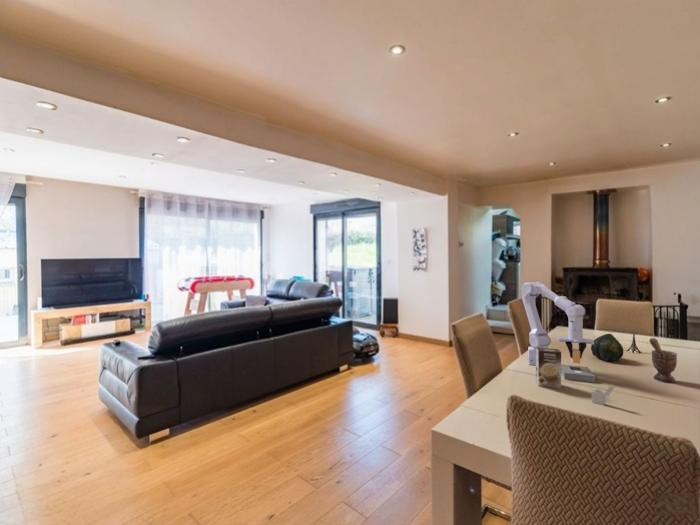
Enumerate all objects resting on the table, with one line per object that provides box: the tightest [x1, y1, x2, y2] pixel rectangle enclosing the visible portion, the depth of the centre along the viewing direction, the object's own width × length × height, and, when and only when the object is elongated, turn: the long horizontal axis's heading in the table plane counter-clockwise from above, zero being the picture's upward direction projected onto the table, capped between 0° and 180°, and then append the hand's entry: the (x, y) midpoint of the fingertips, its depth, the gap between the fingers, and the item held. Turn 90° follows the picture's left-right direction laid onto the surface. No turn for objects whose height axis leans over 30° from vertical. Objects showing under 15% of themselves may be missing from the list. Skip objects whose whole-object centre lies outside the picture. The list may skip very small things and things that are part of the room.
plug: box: [570, 348, 581, 364], centre depth 168 cm, size 3×4×6 cm
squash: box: [590, 333, 624, 362], centre depth 192 cm, size 14×15×15 cm
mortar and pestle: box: [649, 337, 678, 384], centre depth 158 cm, size 12×9×20 cm
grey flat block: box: [561, 363, 596, 383], centre depth 166 cm, size 12×14×3 cm
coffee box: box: [535, 347, 562, 389], centre depth 155 cm, size 9×6×16 cm
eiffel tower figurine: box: [626, 331, 642, 354], centre depth 206 cm, size 15×10×13 cm
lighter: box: [591, 384, 615, 406], centre depth 134 cm, size 7×2×8 cm, turn 43°
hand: (575, 357), depth 168 cm, fingers closed on plug, 3 cm apart
